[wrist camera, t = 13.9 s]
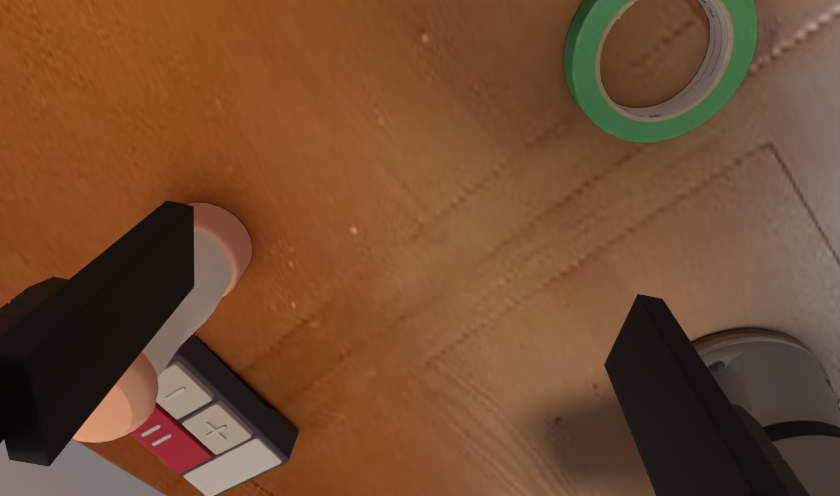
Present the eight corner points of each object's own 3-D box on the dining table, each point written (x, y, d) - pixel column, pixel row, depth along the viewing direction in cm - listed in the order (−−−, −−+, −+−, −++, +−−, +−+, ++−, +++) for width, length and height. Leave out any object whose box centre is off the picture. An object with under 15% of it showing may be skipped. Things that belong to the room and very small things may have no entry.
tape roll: (772, 40, 34) (796, 46, 32) (634, 162, 38) (647, 175, 36) (666, -92, 31) (684, -95, 28) (529, 58, 35) (535, 65, 33)
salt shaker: (163, 270, 44) (-6, 459, 28) (162, 192, 41) (-32, 356, 24) (249, 287, 45) (135, 484, 28) (255, 213, 41) (129, 386, 25)
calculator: (173, 359, 44) (288, 467, 49) (196, 329, 48) (300, 432, 53) (90, 409, 48) (206, 506, 53) (118, 377, 51) (223, 471, 56)
